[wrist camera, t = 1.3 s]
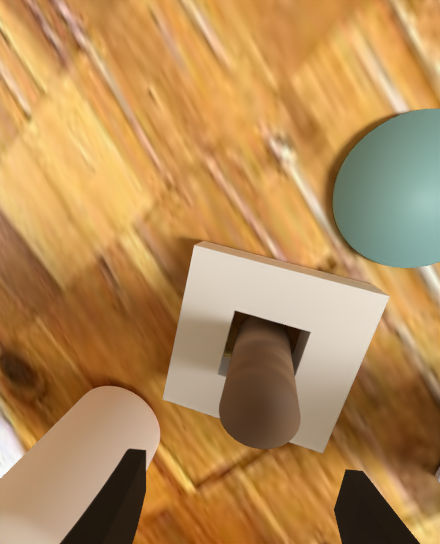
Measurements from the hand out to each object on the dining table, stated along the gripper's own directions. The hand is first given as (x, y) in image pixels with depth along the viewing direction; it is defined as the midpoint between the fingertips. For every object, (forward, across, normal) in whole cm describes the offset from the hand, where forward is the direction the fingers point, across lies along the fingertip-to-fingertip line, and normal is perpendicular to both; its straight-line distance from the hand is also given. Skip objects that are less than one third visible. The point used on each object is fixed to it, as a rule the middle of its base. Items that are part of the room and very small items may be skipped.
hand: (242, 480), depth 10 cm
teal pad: (+10, -10, -11) cm, 18 cm away
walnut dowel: (+11, -2, 0) cm, 11 cm away
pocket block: (+11, -2, 0) cm, 11 cm away
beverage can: (+12, +9, +11) cm, 19 cm away
